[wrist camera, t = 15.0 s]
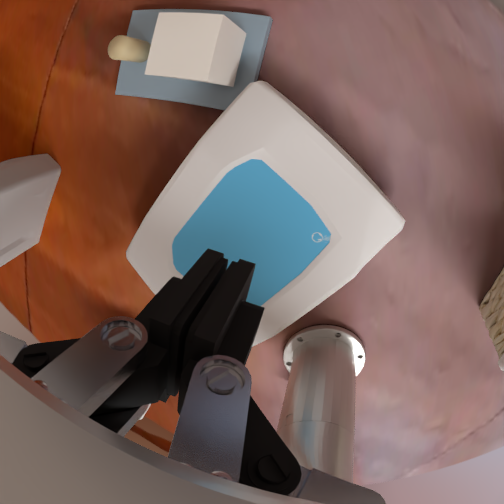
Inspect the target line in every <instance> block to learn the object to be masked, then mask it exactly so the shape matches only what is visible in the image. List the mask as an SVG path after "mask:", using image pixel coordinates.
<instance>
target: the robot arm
mask: <svg viewBox="0 0 504 504" xmlns="http://www.w3.org/2000/svg"><path fill="white" fill-rule="evenodd" d="M227 265H228V259H226V258H224V253H221V252H218V251H215V250H212V249H207V250H206V251H205V252H204V253H203V254H202V255H201V257H200V258H199V259H198V260H197V261H196V262H195V264H194V265H193V266H192V267H191V268H190V270H189V271H188V272H187V273H186V274H185V275H184V277H183V278H182V279H180V278H177V277H172V278H171V279H170V280H169V281H168V282H167V283H166V284H165V285H164V286H163V287H162V289H161V290H160V291H159V292H158V293H157V294H156V295H155V296H154V298H153V299H152V300H151V301H150V302H149V303H148V304H147V306H146V307H145V308H144V309H143V310H142V311H141V312H140V314H139V315H138V316H137V317H136V318H135V319H133V318H130V317H124V316H116V317H112V318H108V319H106V320H104V321H103V322H101V323H100V324H99V325H97V326H96V327H95V328H93V329H92V330H91V331H90V332H88V333H87V334H86V335H84V336H83V337H82V338H78V339H71V340H63V341H55V342H46V343H37V344H32V345H29V346H27V344H26V342H25V341H22V340H20V339H18V338H15V337H12V336H10V335H8V334H6V333H4V332H1V331H0V504H386V503H385V500H384V499H383V498H382V496H381V495H380V494H378V493H377V492H375V491H373V490H371V489H368V488H365V487H362V486H359V485H356V484H353V454H354V435H355V400H356V376H357V375H358V374H359V373H360V371H361V370H362V368H363V366H364V364H365V348H364V346H363V343H362V342H361V340H360V339H359V338H358V337H357V336H356V335H355V334H354V333H352V332H350V331H348V330H347V329H344V328H341V327H338V326H332V325H317V326H312V327H308V328H305V329H303V330H301V331H299V332H297V333H296V334H294V335H293V336H292V337H291V338H290V339H289V340H288V342H287V344H286V346H285V349H284V354H283V360H284V364H285V367H286V369H287V370H288V371H289V373H290V375H289V379H288V384H287V389H286V393H285V398H284V402H283V406H282V411H281V415H280V419H279V424H278V428H277V432H276V431H275V430H274V428H273V427H272V425H271V424H270V423H269V421H268V420H267V418H266V417H265V416H264V414H263V413H262V411H261V410H260V409H259V407H258V406H257V404H256V403H255V401H254V400H253V399H252V397H251V396H250V392H251V384H252V382H251V375H250V373H249V371H248V369H247V368H246V367H245V364H246V361H247V359H248V356H249V353H250V350H251V348H252V345H253V342H254V339H255V336H256V333H257V330H258V328H259V324H260V321H261V318H262V315H263V312H264V309H265V308H264V307H261V306H258V305H255V304H252V303H249V302H246V299H247V296H248V292H249V288H250V284H251V281H252V277H253V273H254V270H255V265H256V264H255V263H252V262H249V261H246V260H243V259H239V261H238V262H235V261H232V262H231V264H230V265H229V267H228V268H227ZM178 391H179V398H178V410H177V411H178V413H179V415H180V417H179V420H178V423H177V427H176V430H175V434H174V437H173V440H172V444H171V447H170V451H169V455H168V458H167V457H165V456H163V455H160V454H158V453H156V452H153V451H151V450H149V449H147V448H145V447H143V446H141V445H139V444H137V443H135V442H133V441H130V440H129V439H127V438H124V436H125V434H126V433H127V432H128V431H129V430H130V429H131V428H132V426H133V425H134V424H135V423H136V422H137V420H138V419H139V418H140V417H141V416H142V415H143V414H144V413H145V411H146V410H147V408H148V406H149V404H152V403H156V402H158V401H159V400H161V401H163V402H165V403H166V401H167V399H168V398H169V396H170V395H172V396H176V395H177V393H178Z"/></svg>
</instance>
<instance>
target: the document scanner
mask: <svg viewBox="0 0 504 504" xmlns="http://www.w3.org/2000/svg"><path fill="white" fill-rule="evenodd" d="M404 223H405V220H404V218H403V216H402V215H401V213H400V211H399V210H398V209H397V208H396V207H395V205H394V204H393V203H392V202H391V201H390V200H389V198H388V197H387V196H386V195H385V194H384V193H383V192H382V191H381V189H380V188H379V187H378V186H377V185H376V184H375V183H374V182H373V180H372V179H371V178H370V177H369V176H368V175H367V174H366V172H365V171H364V170H363V169H362V168H361V167H360V166H359V165H358V164H357V163H356V162H355V160H354V159H353V158H352V157H351V156H350V155H349V154H348V153H347V152H346V151H345V150H344V149H343V148H342V147H341V146H340V145H339V144H337V143H336V142H335V141H334V140H333V139H332V138H331V137H330V136H329V135H328V134H327V133H326V132H325V131H324V130H323V129H322V128H321V127H320V126H319V125H317V124H316V123H315V122H314V121H313V120H312V119H311V118H310V117H309V116H308V115H306V114H305V113H304V112H303V111H302V110H301V109H299V108H298V107H297V106H296V105H295V104H293V103H292V102H291V101H290V100H289V99H287V98H286V97H285V96H284V95H282V94H281V93H280V92H279V91H277V90H276V89H275V88H274V87H272V86H271V85H270V84H269V83H267V82H265V81H256V82H252V83H250V84H249V85H248V86H247V87H246V88H245V89H244V90H243V91H242V92H241V93H240V94H239V95H238V96H237V97H236V99H235V100H234V101H233V102H232V103H231V104H230V105H229V106H228V107H227V109H226V110H225V111H224V112H223V113H222V114H221V115H220V116H219V118H218V119H217V120H216V121H215V122H214V123H213V124H212V126H211V127H210V128H209V129H208V130H207V132H206V133H205V134H204V135H203V136H202V137H201V139H200V140H199V141H198V142H197V144H196V145H195V146H194V148H193V149H192V150H191V152H190V153H189V154H188V156H187V157H186V158H185V160H184V161H183V162H182V164H181V165H180V167H179V168H178V169H177V171H176V172H175V174H174V175H173V176H172V178H171V179H170V181H169V182H168V184H167V185H166V186H165V188H164V189H163V191H162V192H161V194H160V195H159V197H158V198H157V200H156V201H155V203H154V204H153V206H152V207H151V209H150V210H149V212H148V213H147V215H146V216H145V218H144V220H143V221H142V223H141V225H140V227H139V228H138V230H137V232H136V234H135V236H134V238H133V239H132V241H131V243H130V245H129V247H128V249H127V251H126V256H127V260H128V261H129V262H130V264H131V265H132V266H133V267H134V269H135V270H136V271H137V273H138V274H139V275H140V276H141V278H142V279H143V280H144V282H145V283H146V284H147V285H148V287H149V288H150V289H151V290H152V292H153V293H154V294H157V293H158V292H159V291H160V290H161V289H162V287H163V286H164V285H165V284H166V283H167V282H168V281H169V280H170V279H171V278H172V277H177V278H180V279H182V278H183V277H184V275H185V274H186V273H187V272H188V271H189V270H190V268H191V267H192V266H193V265H194V264H195V262H196V261H197V260H198V259H199V258H200V257H201V255H202V254H203V253H204V252H205V251H206V250H207V249H212V250H215V251H218V252H221V253H224V258H226V259H228V265H227V268H228V267H229V265H230V264H231V262H232V261H235V262H238V261H239V259H243V260H246V261H249V262H252V263H255V264H256V265H255V270H254V273H253V277H252V281H251V284H250V288H249V292H248V296H247V299H246V302H249V303H252V304H255V305H258V306H261V307H264V308H265V309H264V312H263V315H262V318H261V321H260V324H259V328H258V330H257V333H256V336H255V339H254V342H253V345H252V347H253V346H255V345H257V344H259V343H261V342H263V341H265V340H267V339H269V338H271V337H273V336H275V335H276V334H278V333H279V332H281V331H282V330H283V329H285V328H286V327H288V326H289V325H291V324H292V323H293V322H295V321H296V320H298V319H299V318H301V317H302V316H303V315H305V314H306V313H308V312H309V311H310V310H312V309H313V308H314V307H316V306H317V305H319V304H320V303H321V302H323V301H324V300H325V299H327V298H328V297H329V296H331V295H332V294H333V293H335V292H336V291H337V290H339V289H340V288H341V287H343V286H344V285H345V284H346V283H348V282H349V281H350V280H352V279H353V278H354V277H355V276H356V275H357V274H358V272H359V271H360V270H361V269H362V267H363V266H364V265H365V264H366V263H368V262H369V261H370V260H371V259H372V258H373V257H374V256H375V255H376V254H377V253H378V252H379V251H380V250H381V249H382V248H383V247H384V246H385V245H386V244H387V243H388V242H389V241H390V240H391V239H392V238H393V237H395V236H396V235H397V234H398V233H399V232H400V231H401V230H402V229H403V226H404Z"/></svg>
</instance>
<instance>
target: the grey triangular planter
mask: <svg viewBox="0 0 504 504" xmlns="http://www.w3.org/2000/svg"><path fill="white" fill-rule="evenodd" d="M60 173H61V167H60V166H59V165H58V163H57V162H56V161H55V160H54V159H53V158H52V157H51V156H50V155H49V154H39V155H32V156H25V157H19V158H13V159H9V160H6V161H4V162H1V163H0V267H1V266H3V265H4V264H6V263H7V262H9V261H10V260H12V259H13V258H15V257H16V256H18V255H19V254H21V253H23V252H24V251H26V250H27V249H29V248H31V247H32V246H34V245H35V244H37V243H38V242H39V239H40V236H41V232H42V228H43V225H44V221H45V218H46V215H47V211H48V208H49V205H50V202H51V199H52V196H53V193H54V190H55V187H56V184H57V181H58V178H59V176H60Z"/></svg>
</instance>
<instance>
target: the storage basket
mask: <svg viewBox="0 0 504 504" xmlns="http://www.w3.org/2000/svg"><path fill="white" fill-rule="evenodd" d="M485 303H486V304H485ZM479 310H480V312H481V315H482V318H483V320H484V321H485V326H486V328H487V329H488V330H489V336H490V338H491V339H492V341H493V344H494V346H495V349H496V351H497V352H498V356H499V361H498V365H499V367H500V369H501V370H502V371H504V267H503V269H502V271H501V273H500V275H499V276H498V277H497V279H496V280H495V282H494V284H493V285H492V287H491V289H490V290H489V291H488V292H487V294H486V295H485V297H484V299H483V301H482V303H481V304H480V307H479Z"/></svg>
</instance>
